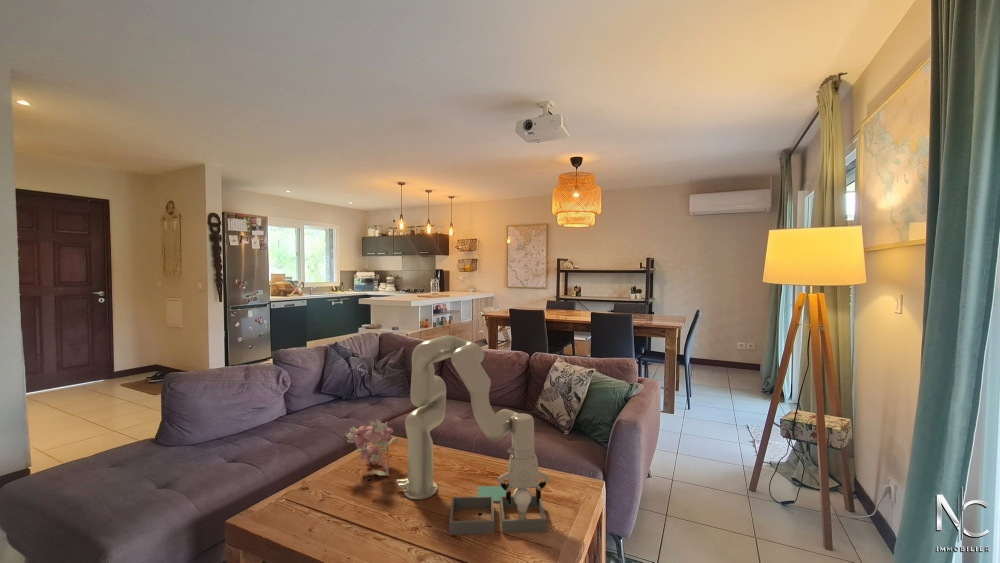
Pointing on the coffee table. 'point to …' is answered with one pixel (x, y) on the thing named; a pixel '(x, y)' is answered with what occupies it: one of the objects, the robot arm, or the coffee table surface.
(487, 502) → the box
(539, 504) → the box
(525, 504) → the lightbulb
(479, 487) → the mat
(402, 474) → the coffee table surface
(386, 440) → the flower
